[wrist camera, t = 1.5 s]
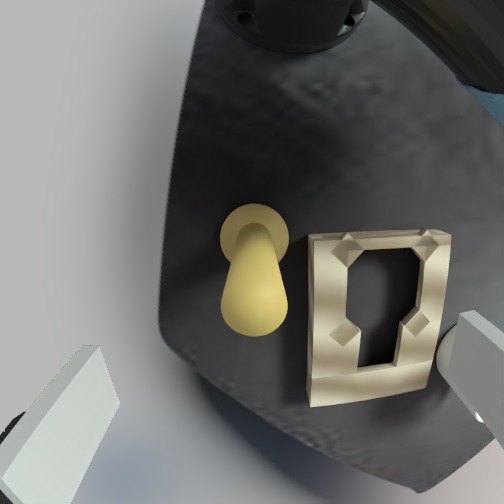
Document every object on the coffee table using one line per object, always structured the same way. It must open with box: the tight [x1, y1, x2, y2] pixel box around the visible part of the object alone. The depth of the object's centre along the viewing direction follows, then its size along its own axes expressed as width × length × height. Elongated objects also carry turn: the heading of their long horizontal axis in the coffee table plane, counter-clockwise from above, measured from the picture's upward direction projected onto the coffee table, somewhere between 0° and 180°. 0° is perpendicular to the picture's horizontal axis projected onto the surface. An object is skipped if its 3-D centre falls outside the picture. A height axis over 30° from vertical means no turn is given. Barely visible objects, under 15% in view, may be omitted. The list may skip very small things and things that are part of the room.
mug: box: [436, 325, 484, 423], centre depth 28 cm, size 9×12×11 cm
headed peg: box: [220, 204, 289, 336], centre depth 22 cm, size 6×6×16 cm
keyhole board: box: [306, 228, 451, 407], centre depth 30 cm, size 19×14×3 cm
